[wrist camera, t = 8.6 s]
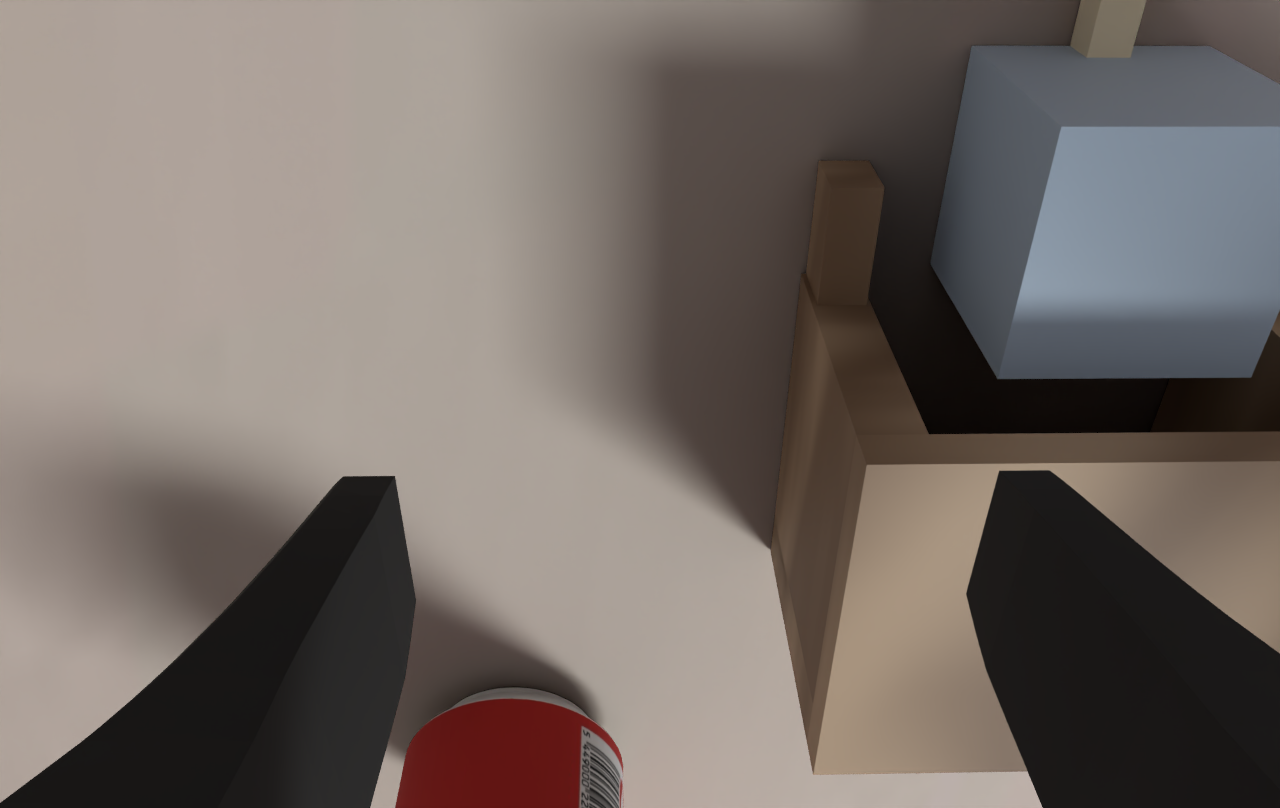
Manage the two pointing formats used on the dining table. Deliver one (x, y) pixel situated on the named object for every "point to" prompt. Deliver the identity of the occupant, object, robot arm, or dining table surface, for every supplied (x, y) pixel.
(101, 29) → the dining table surface
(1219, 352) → the tethered block
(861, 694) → the open wooden box
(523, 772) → the beverage can
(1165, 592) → the robot arm
